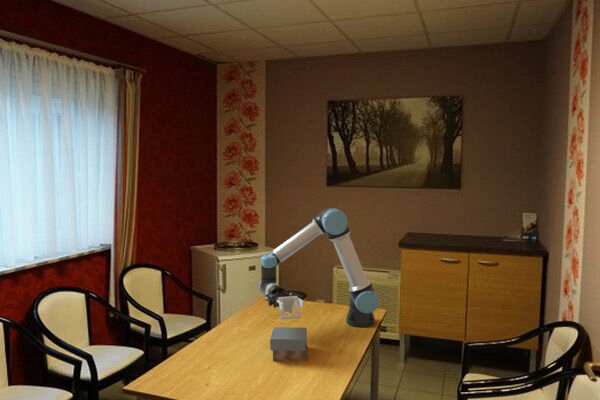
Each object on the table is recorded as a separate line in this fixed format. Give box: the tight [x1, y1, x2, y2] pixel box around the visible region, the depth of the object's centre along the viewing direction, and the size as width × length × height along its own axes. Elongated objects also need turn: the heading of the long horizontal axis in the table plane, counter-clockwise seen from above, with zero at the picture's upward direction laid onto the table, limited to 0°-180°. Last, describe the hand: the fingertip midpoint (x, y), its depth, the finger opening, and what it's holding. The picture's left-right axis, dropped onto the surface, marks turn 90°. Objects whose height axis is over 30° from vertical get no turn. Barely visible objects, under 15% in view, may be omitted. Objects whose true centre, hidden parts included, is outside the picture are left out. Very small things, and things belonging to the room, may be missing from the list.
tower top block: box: [269, 326, 308, 352], centre depth 215 cm, size 15×15×5 cm
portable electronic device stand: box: [278, 296, 302, 320], centre depth 214 cm, size 9×8×8 cm
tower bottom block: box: [272, 339, 309, 362], centre depth 216 cm, size 15×15×5 cm
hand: (292, 305), depth 210 cm, fingers closed on portable electronic device stand, 9 cm apart
